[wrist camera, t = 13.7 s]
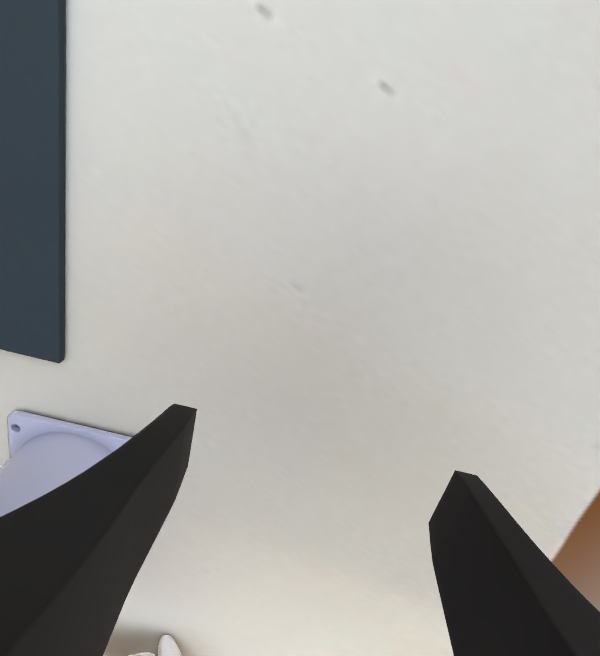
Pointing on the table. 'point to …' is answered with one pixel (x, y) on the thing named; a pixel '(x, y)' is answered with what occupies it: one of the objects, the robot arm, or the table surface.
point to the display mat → (32, 178)
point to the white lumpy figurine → (164, 648)
